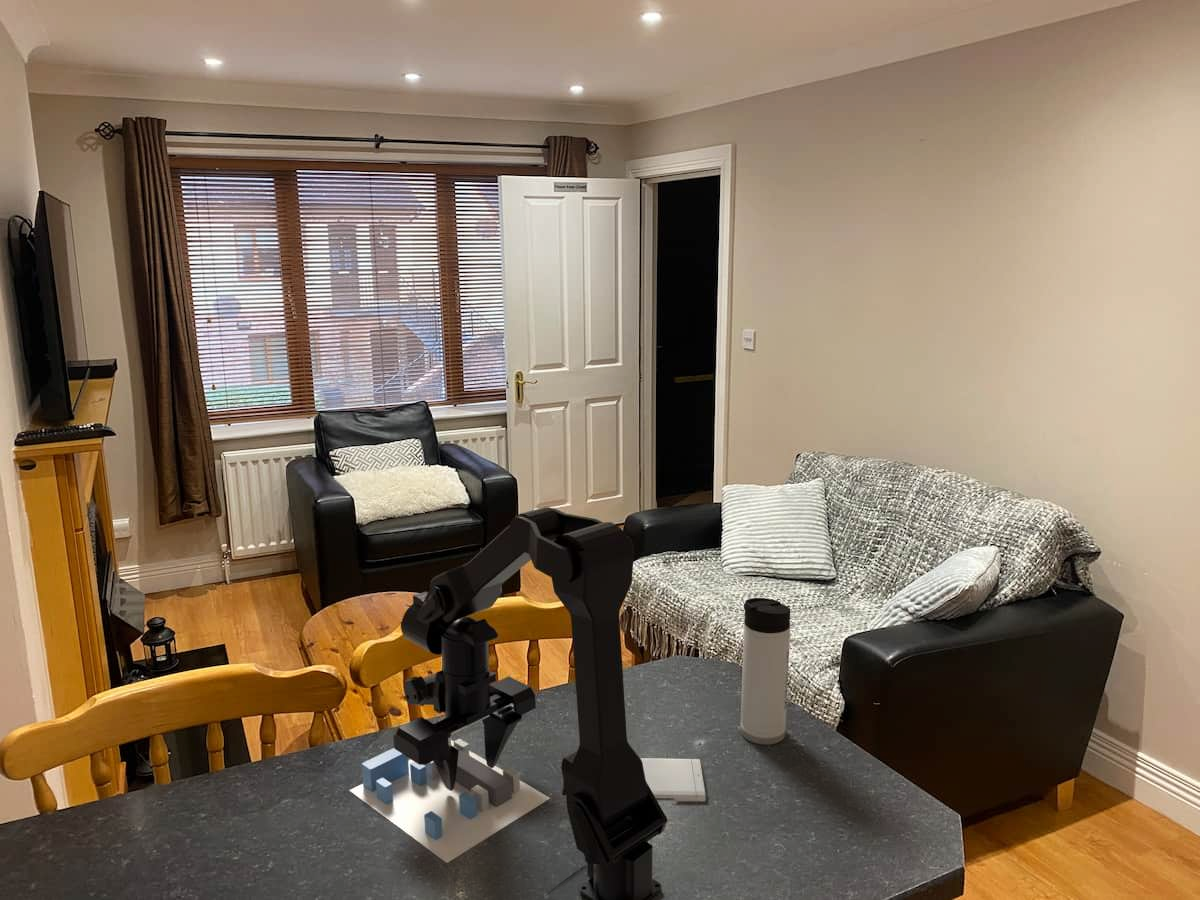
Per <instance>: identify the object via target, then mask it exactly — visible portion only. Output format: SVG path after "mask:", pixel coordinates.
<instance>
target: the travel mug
mask: <svg viewBox="0 0 1200 900" xmlns="http://www.w3.org/2000/svg"><path fill="white" fill-rule="evenodd" d="M743 610H744V620H743V640H742V641H743V645H742V647H743V648H742V672H741V674H742V675H741V676H742V677H741V700H740V701H741V702H740V703H741V704H740V705H741V706H740V734H741V735H742V737H743V739H744V738H745V740H747V741H749V742H752V743H754V744H757V745H763V746H764V745H765V746H766V745H767V746H769V745H770V746H771V745H775V744H777V743H780V742H782V741H783V740H784V739H785V737H786V729H787V728H786V725H787V708H788V707H787V706H788V705H787V700H788V686H789V685H788V684H789V683H788V682H789V681H788V680H789V663H790V662H789V661H790V660H789V659H790V641H791V638H790V637H791V636H790V635H791V608H790V607H789V606H787V605H785V604H783V603H781V601H778V600H776V599H771V598H765V597H751V598H748V599H746V600H745V603H744V604H743Z"/></svg>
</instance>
